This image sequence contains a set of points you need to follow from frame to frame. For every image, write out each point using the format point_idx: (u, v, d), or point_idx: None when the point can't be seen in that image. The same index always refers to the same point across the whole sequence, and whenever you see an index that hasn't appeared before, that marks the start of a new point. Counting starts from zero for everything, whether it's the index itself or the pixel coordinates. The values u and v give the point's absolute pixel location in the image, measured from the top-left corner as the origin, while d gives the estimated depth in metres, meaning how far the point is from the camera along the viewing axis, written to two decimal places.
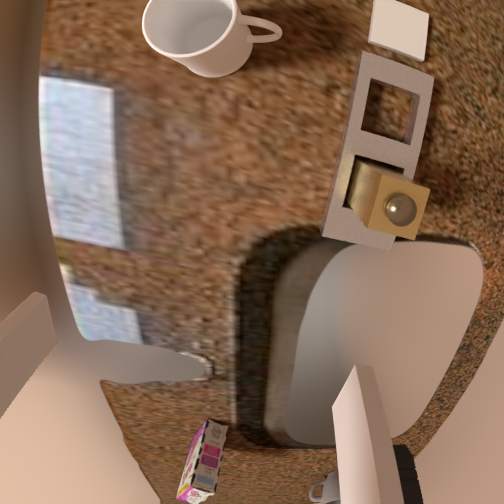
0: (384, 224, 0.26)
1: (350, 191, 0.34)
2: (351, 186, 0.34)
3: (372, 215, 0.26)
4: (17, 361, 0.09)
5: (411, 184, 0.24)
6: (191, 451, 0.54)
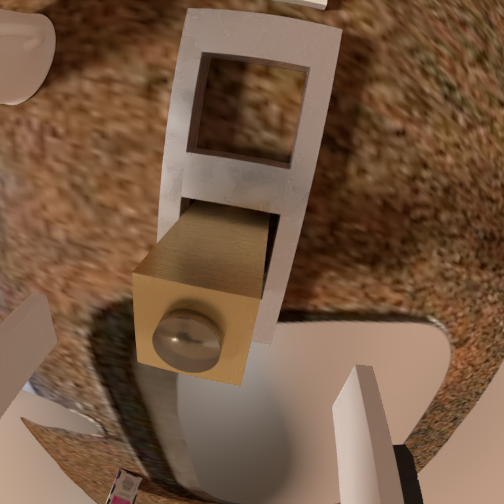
0: None
1: None
2: None
3: (138, 344, 0.13)
4: (17, 361, 0.09)
5: (205, 291, 0.12)
6: None
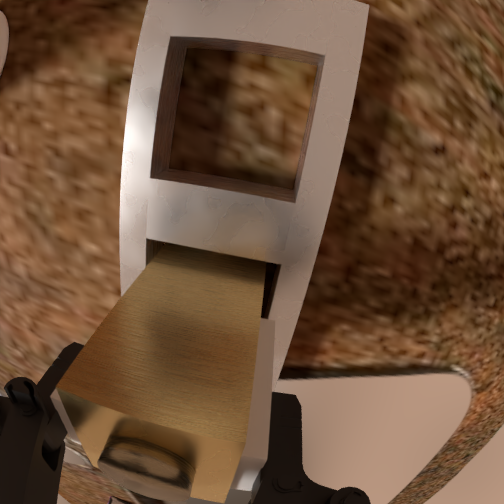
0: None
1: None
2: None
3: (88, 453, 0.08)
4: None
5: (160, 427, 0.06)
6: None
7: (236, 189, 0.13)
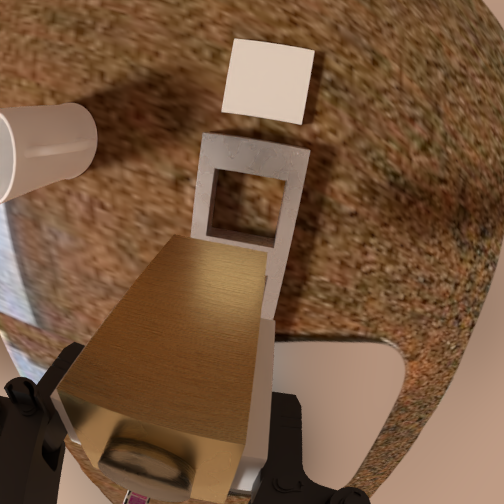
0: None
1: None
2: None
3: (88, 454, 0.08)
4: None
5: (160, 428, 0.06)
6: None
7: (246, 241, 0.29)
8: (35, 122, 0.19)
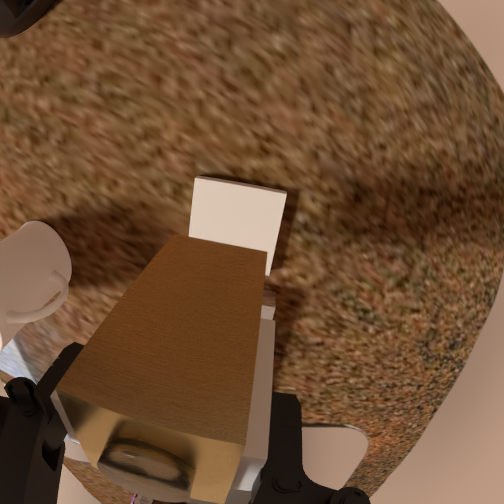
0: None
1: None
2: None
3: (88, 454, 0.08)
4: None
5: (159, 428, 0.06)
6: None
7: None
8: (6, 282, 0.20)
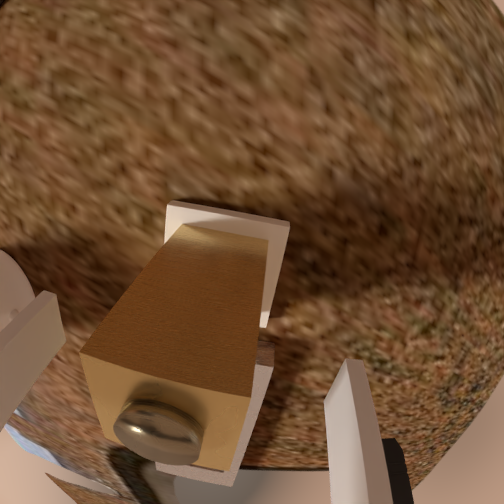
0: None
1: None
2: None
3: (102, 423, 0.09)
4: (27, 360, 0.09)
5: (175, 384, 0.08)
6: None
7: None
8: None
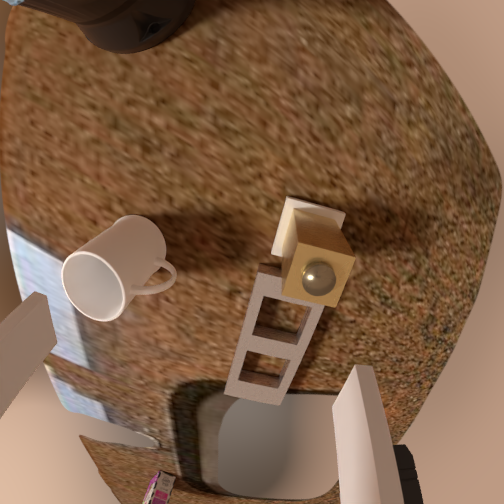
0: (300, 291, 0.27)
1: (284, 244, 0.34)
2: (286, 239, 0.34)
3: (287, 283, 0.26)
4: (17, 361, 0.09)
5: (332, 252, 0.25)
6: (148, 491, 0.61)
7: (279, 339, 0.41)
8: (131, 261, 0.31)
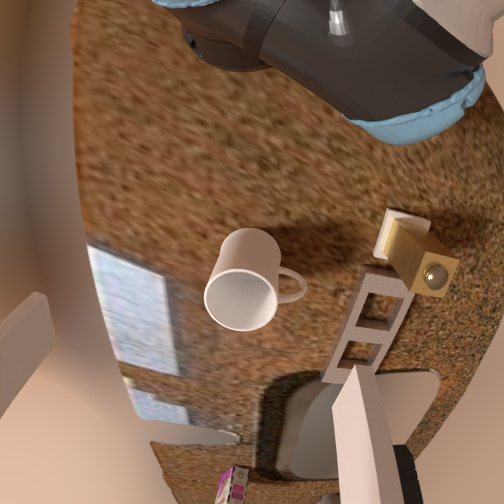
0: (422, 288, 0.31)
1: (390, 249, 0.39)
2: (391, 245, 0.39)
3: (414, 282, 0.31)
4: (17, 361, 0.09)
5: (446, 257, 0.29)
6: (221, 487, 0.68)
7: (375, 327, 0.46)
8: (274, 273, 0.35)
